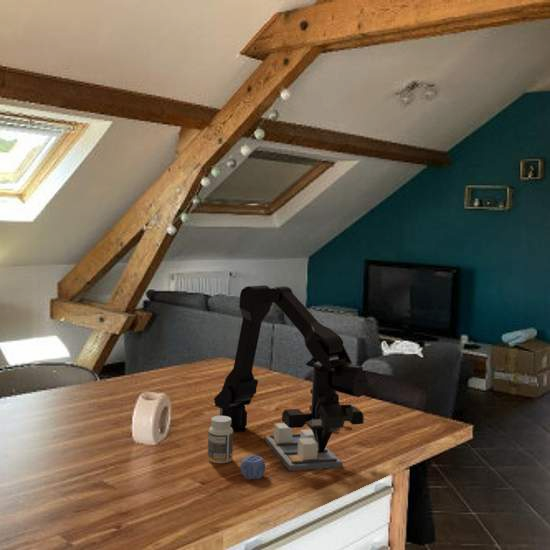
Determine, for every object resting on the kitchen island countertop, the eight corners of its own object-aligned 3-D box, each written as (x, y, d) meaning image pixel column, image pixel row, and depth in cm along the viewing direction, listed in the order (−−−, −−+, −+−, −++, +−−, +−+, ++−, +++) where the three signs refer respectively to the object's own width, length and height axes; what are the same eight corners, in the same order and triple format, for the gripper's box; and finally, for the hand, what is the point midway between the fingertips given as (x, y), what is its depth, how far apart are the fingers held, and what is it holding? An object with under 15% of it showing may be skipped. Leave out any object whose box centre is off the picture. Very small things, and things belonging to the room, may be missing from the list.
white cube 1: (302, 459, 158) (303, 444, 158) (297, 453, 162) (298, 438, 162) (317, 458, 159) (317, 443, 159) (311, 452, 163) (312, 437, 163)
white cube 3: (278, 443, 169) (279, 428, 169) (273, 437, 173) (274, 423, 173) (291, 442, 170) (292, 427, 170) (287, 436, 174) (287, 422, 174)
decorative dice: (240, 476, 151) (240, 459, 150) (250, 471, 154) (251, 454, 154) (255, 481, 148) (255, 463, 148) (265, 475, 152) (265, 458, 151)
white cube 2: (305, 450, 165) (306, 435, 165) (299, 444, 169) (300, 430, 168) (318, 449, 166) (319, 434, 166) (313, 443, 170) (314, 429, 169)
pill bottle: (219, 453, 164) (221, 413, 163) (237, 459, 160) (238, 418, 159) (202, 459, 160) (204, 418, 159) (220, 466, 156) (221, 424, 155)
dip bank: (289, 470, 155) (289, 464, 155) (264, 439, 175) (264, 434, 175) (342, 466, 159) (342, 460, 159) (311, 436, 179) (312, 431, 179)
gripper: (298, 398, 150) (294, 467, 151) (375, 395, 155) (371, 461, 157) (282, 385, 160) (279, 449, 162) (355, 382, 166) (352, 445, 168)
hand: (321, 451), depth 162 cm, fingers closed
